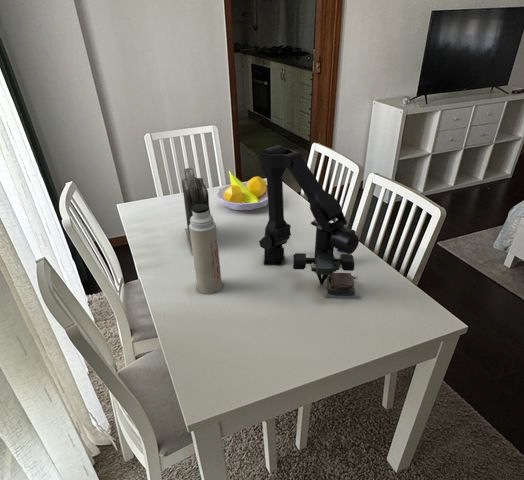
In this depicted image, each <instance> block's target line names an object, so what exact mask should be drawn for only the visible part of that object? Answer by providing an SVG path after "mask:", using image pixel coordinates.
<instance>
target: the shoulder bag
mask: <svg viewBox="0 0 524 480" xmlns="http://www.w3.org/2000/svg"><path fill="white" fill-rule="evenodd" d="M183 170H184V178H182V179H181V187H182V195H183V201H184V209H185V218H186V226H187V228H185V229H184V232H185V233H186V234H185V235H186V237H187V240H188V243H189V246H190V249H191V250H192V245H191V238H190V231H189V225H190V223H191V222H190V218H191V217H192V216H193V211H192V207H193V206H194V205H197V204H205V205H208V207H209V214H210V215H212V214H211V209H210V197H209V191H208V188H207V186H206V185H205V183H204V178H202V177H195V171H194V168H193V167H187V168H185V169H183ZM191 252H192V251H191ZM192 254H193V252H192Z"/></svg>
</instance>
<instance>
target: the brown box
mask: <svg viewBox="0 0 524 480" xmlns="http://www.w3.org/2000/svg"><path fill="white" fill-rule="evenodd" d="M353 277H354V276H353V275H352V272H332V274H331V275H328V276H327V278H326V280H325V282H326V283H325V284H326V293H327V294H328V295H341V296H354V295H355V294H356V287H355V281H354V279H353ZM330 283H331V284H330ZM334 287H349V288H334Z"/></svg>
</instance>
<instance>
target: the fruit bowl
mask: <svg viewBox="0 0 524 480" xmlns="http://www.w3.org/2000/svg"><path fill="white" fill-rule="evenodd" d="M228 175H229V180H230V181H229V182H230V184H227V185H225V186H223V187H222V186H221V187H219V188H218V190H217V192H216V194H215V197H216V198H217V200H218V201H219V202H220V204H221V206H224V207H226V208H229V209H232V210H234V211H235V210H236V211H247V212H249V211H253V210H257V209H260V208H264V207H266V206H267V205H268V192H267V180H265V179H264V178H262V177H260V176H259V175H257V176H253V177H251V179H249V180H248V181H244V182H242V181H241V180H240V179H239V178H237V177H236V176H235V175H234V174H232V171H231V170H229V171H228Z"/></svg>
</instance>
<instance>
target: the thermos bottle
mask: <svg viewBox="0 0 524 480" xmlns="http://www.w3.org/2000/svg"><path fill="white" fill-rule="evenodd" d="M209 209H210V206H209V207H208V205H205V204H197V205H194V206H193V207H192V211H193V216H192V217H191V218H190V222H191V223H190V225H189V231H190V238H191V245H192V249H191V252H193V253H192V258H193V265H194V272H195V279H196V286H197V291H199V292H200V293H202V294H207V295H208V294H215V293H217V292H219V291H221V289H222V287H223V284H222V273H221V264H220V263H221V261H220V253H219V243H218V232H217V223H216V222H215V220H214V216H213V215H212V214H211V213H210V214H211V215H210V214H209Z"/></svg>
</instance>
